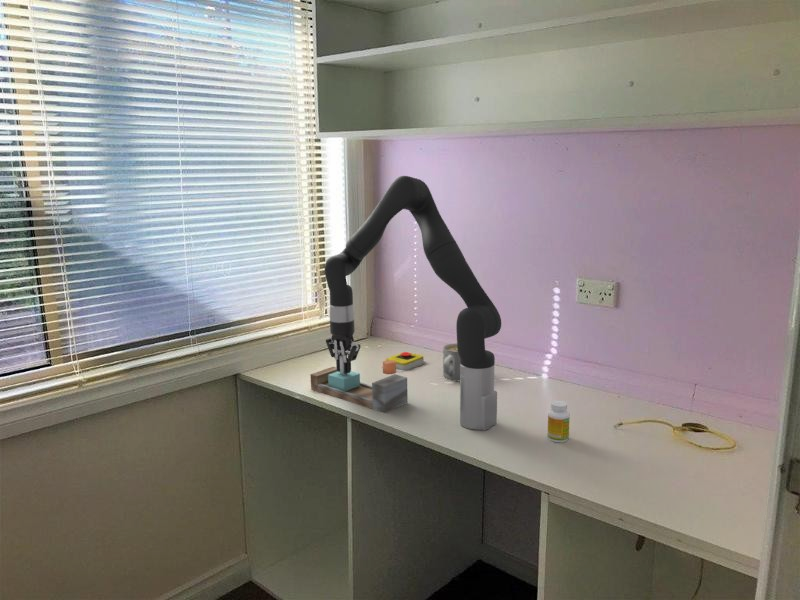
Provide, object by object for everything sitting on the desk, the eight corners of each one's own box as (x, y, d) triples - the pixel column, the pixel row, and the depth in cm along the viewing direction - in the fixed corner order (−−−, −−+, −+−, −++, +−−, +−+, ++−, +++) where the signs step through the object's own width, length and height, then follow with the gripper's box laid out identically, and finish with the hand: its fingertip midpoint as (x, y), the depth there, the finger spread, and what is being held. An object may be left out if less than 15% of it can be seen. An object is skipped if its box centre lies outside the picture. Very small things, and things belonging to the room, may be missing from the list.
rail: (407, 402, 198) (407, 377, 196) (385, 412, 190) (384, 386, 189) (333, 380, 218) (332, 357, 217) (311, 389, 211) (309, 365, 209)
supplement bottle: (565, 444, 168) (566, 408, 166) (544, 440, 170) (545, 405, 168) (571, 436, 172) (572, 401, 170) (550, 432, 175) (552, 398, 173)
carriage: (360, 385, 208) (359, 355, 206) (344, 391, 203) (343, 360, 201) (344, 381, 213) (343, 351, 210) (328, 386, 207) (327, 356, 205)
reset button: (399, 371, 194) (399, 362, 193) (390, 375, 191) (390, 365, 190) (389, 369, 196) (388, 359, 196) (380, 372, 193) (379, 362, 193)
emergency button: (427, 351, 236) (400, 361, 225) (427, 363, 237) (400, 374, 226) (407, 347, 242) (380, 357, 231) (407, 358, 243) (380, 368, 232)
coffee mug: (456, 369, 228) (456, 341, 226) (478, 375, 221) (479, 347, 219) (430, 378, 219) (429, 349, 217) (452, 385, 212) (452, 355, 210)
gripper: (366, 319, 201) (368, 373, 205) (335, 313, 210) (337, 364, 214) (349, 324, 196) (351, 379, 200) (317, 317, 205) (319, 370, 208)
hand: (343, 371), depth 207 cm, fingers closed on carriage, 2 cm apart
